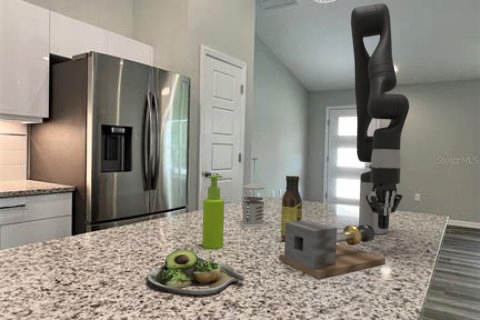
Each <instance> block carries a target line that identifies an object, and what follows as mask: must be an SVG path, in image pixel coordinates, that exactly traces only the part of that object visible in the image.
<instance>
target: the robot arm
mask: <svg viewBox="0 0 480 320" xmlns="http://www.w3.org/2000/svg"><path fill="white" fill-rule="evenodd" d="M350 16H351V17H350V26H351V27H350V28H351V38H352V48H353V49H352V50H353V59H354V60H353V61H354V92H355V93H354V94H355V105H356V157H357V160H358V161H359V162H362V163H370V171H366V172H362V173H361V174H360V177H359V178H360V181H359V182H360V183H359V206H358V207H359V213H358V215H359V216H358V226H360V225H370V226H371V227H372V228H373V229H374V232H375V235H384V234H387V233H388V232H389V227H390V226H389V225H390V216H391V215H392V213H396V211H397V208H398V207H399V205H400V202H401V201H402V198H403V195H402V194H399V193H398V189H397V185H399V184H400V182H401V165H402V163H401V161H402V160H401V159H402V157H401V140H402V139H401V138H402V132H403V129H404V126H405V122H406V119H407V118H408V117H407V116H408V114H409V111H410V101H409V99H408V98H407V96H406V95H404V94H400V93H388V92H391V91H393V90H394V89H395V88H396V86H397V84H398V81H397V75H396V70H395V66H394V65H395V64H394V60H393V59H394V58H393V49H392V48H393V47H392V46H393V43H392V41H393V40H392V28H391V27H392V26H391V25H392V24H391V15H390V9H389V7H388V5H387V4H386V3H375V4H370V5H368V4H367V5H363V6H358V7H355V8H353V9H352V11H351V15H350ZM375 36H376V37H377V36H379V40H378V43H377V45H376V47H375V48H374V50H373V52H372V54H371V56H370V54H369V53H368V50H367V48H366V46H365V42H364V38H370V37H375ZM373 120H389V121H390V122H389V123H388V125H387V126H386V127H381V128H380V127H379V128H376V129H375V130H374V131H373V134H372V135H371V136H370V135H368V132H369V126H370V124H371V122H372V121H373Z"/></svg>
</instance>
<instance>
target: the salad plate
mask: <svg viewBox="0 0 480 320" xmlns="http://www.w3.org/2000/svg"><path fill="white" fill-rule="evenodd" d="M245 279H246V277H245V276H243V275H241V274H238V273H237V272H236V270H235V268H234V267H233V266H232V265H229V264H225V263H218V262H215V261H214V260H206V259H204V258H202V257H198V255H197V253H195V252H194V251H193V250H190V249H180V250H179V249H178V250H176V251H173V252H172V253H170V254H168V255H167V256H166V258H165V260H164V265H161V267H159V268H157V269H155V270H152V271H151V272H150V273H148V274H147V276H146V282H147V284H148V285H149V286H151V287H152V288H153V289H154V290H159V291H162V292H168V293H174V294H181V295H182V294H183V295H193V296H205V295H210V294H212V295H213V294H217V293H218V292H221V291H222V290H224V289H225V288H226V287H227V286H228V285H230V284H231V283H233V282H235V281H245ZM192 285H193V286H194V285H201V286H208V288H196V289H187V288H186V287H189V286H192ZM184 288H185V289H184Z"/></svg>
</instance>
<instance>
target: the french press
mask: <svg viewBox="0 0 480 320" xmlns="http://www.w3.org/2000/svg"><path fill="white" fill-rule="evenodd" d="M257 160H258V158H257V157H256V156H253V157H252V158H251V161H253V162H254V163H253V173H255V170H256V169H255V165H256V161H257ZM265 187H266V186H263V185H262V184H260V183H256V182H255V181H253V182H252V183H247V184H245V185H243V187H242V188H243V189H244V190H250V191H251V190H252V191H253V194H252V193H251V192H248V194H247V191H245V192H244V193H243V195H242V199H241V207H242V221H241V222H240V223H239V225H240V226H242V227H248V228H259V227H260V228H261V227H265V226H267V224H266V223H265V221H264V215H265V213H264V212H265V211H264V208H265V202H264V201H262V200H263V199H264V198H263V197H261V196H255V192H254V191H255V190H257V191H258V190H265ZM245 194H246V195H245ZM251 194H252V195H253V196H252V195H251Z"/></svg>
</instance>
